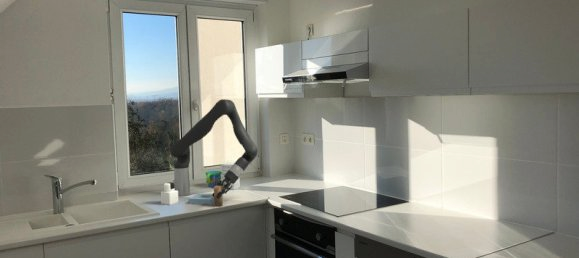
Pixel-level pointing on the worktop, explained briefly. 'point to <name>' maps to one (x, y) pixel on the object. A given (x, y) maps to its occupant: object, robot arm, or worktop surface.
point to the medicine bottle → (169, 194)
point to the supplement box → (224, 169)
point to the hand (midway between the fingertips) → (215, 197)
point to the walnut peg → (216, 201)
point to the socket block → (202, 199)
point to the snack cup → (213, 178)
